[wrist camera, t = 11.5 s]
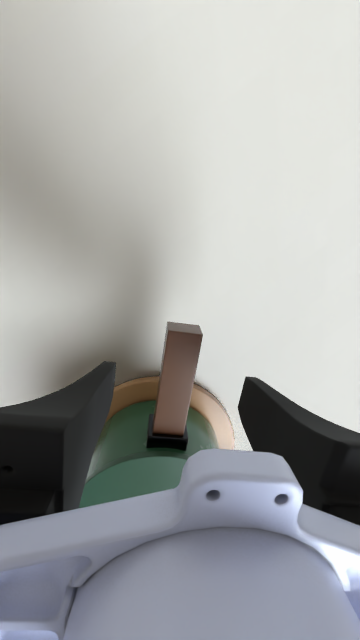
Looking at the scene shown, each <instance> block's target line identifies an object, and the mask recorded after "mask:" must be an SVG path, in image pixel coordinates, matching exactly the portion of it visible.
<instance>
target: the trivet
mask: <svg viewBox="0 0 360 640" xmlns="http://www.w3.org/2000/svg"><path fill="white" fill-rule="evenodd" d="M158 383H159V376H154V377H144V378H139V379H134V380H131V381H128V382H125V383H123V384H120V385H118V386H116V387H114V391H113V398H112V402H111V406H110V410H109V414H108V416H107V419H106V421H105V423H106V422H107V421H108V420H109V419H110V418H111V417H112V416H113V415H114V414H116V413H117V412H119V411H120V410H122V409H124V408H126V407H128V406H130V405H133V404H136V403H139V402H144V401H150V400H156V396H157V390H158ZM189 407H191V408H193V409H194V410H196V411H197V412H199V413H200V414H201V415H203V416H204V417H205V418H206V419H207V420H208V422H209V423H210V424H211V426H212V428H213V429H214V431H215V434H216V437H217V440H218V444H219V448H220V449H228V450H234V431H233V428H232V424H231V421H230V419H229V416H228V414H227V412H226V410H225V409H224V407H223V406H222V404H221V403H220V402H219V401H218V400H217V399H216V398H215V397H214V396H213V395H212V394H210V393H209V392H208V391H207V390H205V389H203V388H202V387H200V386H198V385H196V384H193V389H192V394H191V399H190V404H189Z"/></svg>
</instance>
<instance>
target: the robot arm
mask: <svg viewBox="0 0 360 640" xmlns="http://www.w3.org/2000/svg"><path fill="white" fill-rule="evenodd" d="M115 369H116V362H106V361H104V362H103V363H101V364H100V365H99V366H97V367H96V368H95V369H94V370H92V371H91V372H89V373H88V374H87V375H85V376H84V377H82V378H81V379H79V380H77V381H76V382H74V383H73V384H71V385H69V386H67V387H65V388H63V389H61V390H59V391H57V392H54V393H51V394H49V395H46V396H44V397H41V398H38V399H35V400H32V401H28V402H24V403H20V404H16V405H11V406H6V407H1V408H0V640H360V433H357V432H355V431H352V430H349V429H346V428H344V427H341V426H339V425H336V424H334V423H332V422H330V421H327V420H325V419H323V418H321V417H319V416H317V415H315V414H313V413H311V412H309V411H308V410H306V409H304V408H302V407H301V406H299V405H297V404H296V403H294V402H293V401H291V400H289V399H288V398H286V397H285V396H283V395H282V394H280V393H279V392H278V391H276V390H275V389H273V388H272V387H270V386H269V385H268V384H266V383H265V382H263V381H261V380H260V379H258V378H255V377H246V378H245V381H244V385H243V389H242V393H241V397H240V401H239V405H238V410H239V415H240V418H241V422H242V425H243V428H244V430H245V432H246V435H247V437H248V440H249V442H250V444H251V447H252V449H253V451H241V450H228V449H215V448H213V449H206V450H200V451H198V452H197V453H195V454H194V455H192V456H190V457H189V458H188V460H187V461H186V463H185V465H184V467H183V470H182V475H181V480H180V483H179V485H178V486H177V487H176V488H174V489H169V490H164V491H160V492H155V493H150V494H145V495H141V496H136V497H131V498H126V499H122V500H117V501H112V502H107V503H103V504H98V505H93V506H88V507H84V508H79V505H80V501H81V497H82V493H83V489H84V486H85V482H86V478H87V474H88V471H89V467H90V463H91V460H92V456H93V453H94V450H95V447H96V445H97V442H98V439H99V437H100V434H101V432H102V429H103V427H104V424H105V421H106V419H107V416H108V414H109V410H110V406H111V402H112V398H113V391H114V380H115Z"/></svg>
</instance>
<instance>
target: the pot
mask: <svg viewBox="0 0 360 640" xmlns="http://www.w3.org/2000/svg"><path fill="white" fill-rule="evenodd" d="M202 337H203V334H202V332H201V329H200V327H199V326H198V325H190V324H182V323H174V322H167V328H166V335H165V342H164V349H163V356H162V362H161V369H160V376H159V383H158V390H157V396H156V400H150V401H144V402H139V403H136V404H133V405H130V406H128V407H126V408H124V409H122V410H120V411H119V412H117V413H116V414H114V415H113V416H112V417H111V418H110V419H109V420H108V421H107V422H106V423H105V424H104V427H103V429H102V432H101V434H100V437H99V439H98V442H97V445H96V447H95V450H94V453H93V456H92V460H91V463H90V467H89V471H88V474H87V478H86V482H85V486H84V489H83V493H82V497H81V501H80V505H79V508H84V507H88V506H93V505H98V504H103V503H107V502H112V501H117V500H122V499H126V498H131V497H136V496H141V495H145V494H150V493H155V492H160V491H164V490H169V489H174V488H176V487H177V486H178V485H179V483H180V480H181V475H182V470H183V467H184V465H185V463H186V461H187V460H188V458H189V457H190V456H192V455H194V454H195V453H197V452H198V451H200V450H206V449H213V448H215V449H220V448H219V444H218V440H217V437H216V434H215V431H214V429H213V428H212V426H211V424H210V423H209V422H208V420H207V419H206V418H205V417H204V416H203V415H201V414H200V413H199V412H197V411H196V410H194V409H193V408H191V407H189V404H190V399H191V394H192V389H193V384H194V378H195V373H196V368H197V363H198V358H199V352H200V347H201V342H202Z"/></svg>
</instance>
